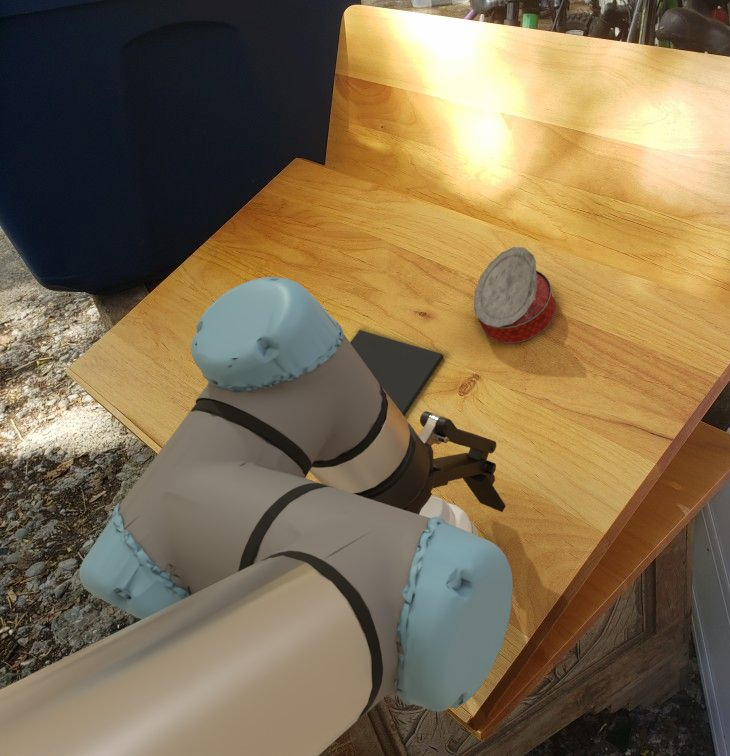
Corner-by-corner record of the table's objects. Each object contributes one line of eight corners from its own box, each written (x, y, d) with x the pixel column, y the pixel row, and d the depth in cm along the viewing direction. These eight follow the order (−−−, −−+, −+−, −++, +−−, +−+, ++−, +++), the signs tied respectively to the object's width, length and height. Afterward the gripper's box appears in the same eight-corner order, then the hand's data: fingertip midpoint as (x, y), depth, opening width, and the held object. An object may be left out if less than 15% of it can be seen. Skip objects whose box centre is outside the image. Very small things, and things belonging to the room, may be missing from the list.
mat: (372, 463, 78) (370, 460, 78) (289, 428, 85) (287, 425, 85) (443, 356, 85) (442, 353, 84) (361, 332, 92) (359, 329, 91)
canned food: (556, 351, 86) (542, 336, 76) (480, 347, 89) (457, 333, 79) (563, 264, 87) (549, 239, 78) (488, 263, 90) (465, 238, 80)
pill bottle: (425, 565, 69) (379, 519, 60) (472, 524, 70) (434, 474, 61) (459, 611, 65) (415, 569, 56) (508, 567, 66) (472, 519, 58)
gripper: (412, 316, 56) (489, 446, 73) (225, 580, 46) (363, 661, 63) (487, 336, 53) (550, 468, 69) (301, 627, 43) (426, 700, 59)
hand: (461, 560), depth 66 cm, fingers open, 12 cm apart
